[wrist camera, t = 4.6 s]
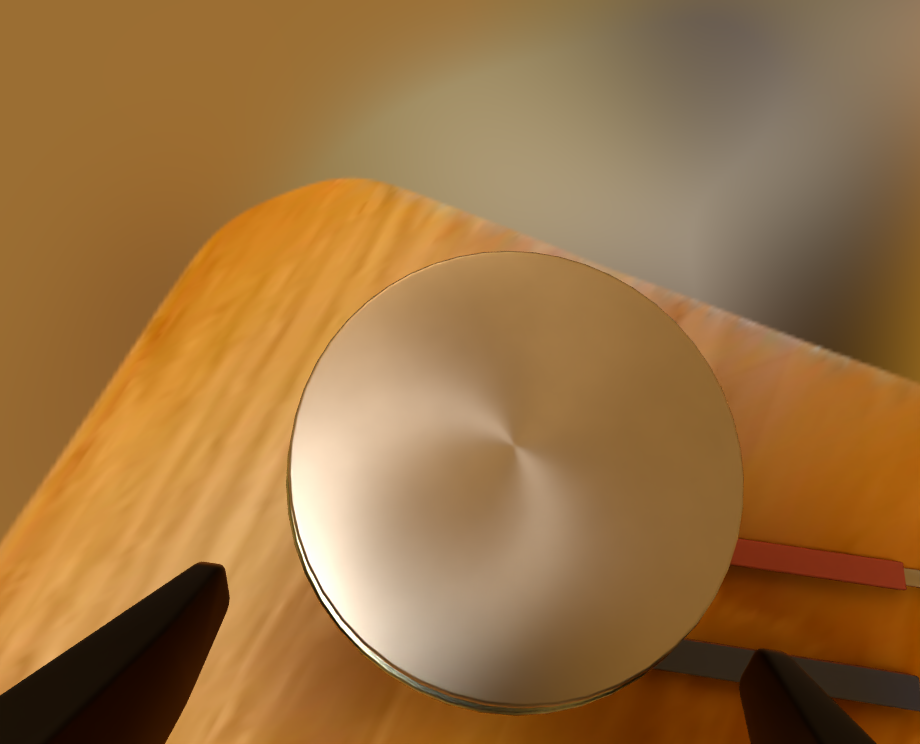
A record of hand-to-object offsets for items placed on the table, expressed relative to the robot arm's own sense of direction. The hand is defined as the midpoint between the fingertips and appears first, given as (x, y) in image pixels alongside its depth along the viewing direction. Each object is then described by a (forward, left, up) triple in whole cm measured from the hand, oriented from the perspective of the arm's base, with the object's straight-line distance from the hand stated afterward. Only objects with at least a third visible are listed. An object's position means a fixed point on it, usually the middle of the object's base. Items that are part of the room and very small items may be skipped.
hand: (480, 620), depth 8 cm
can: (+2, +2, -10) cm, 10 cm away
